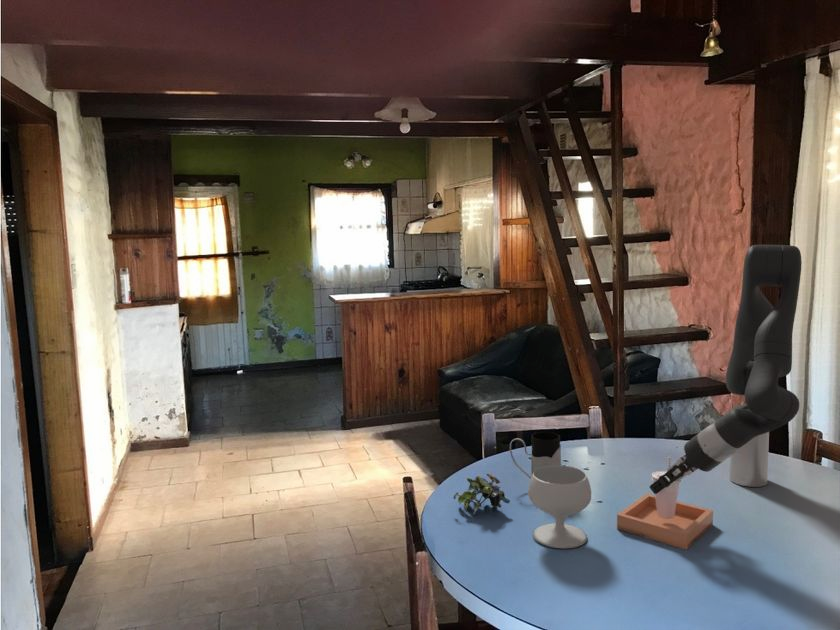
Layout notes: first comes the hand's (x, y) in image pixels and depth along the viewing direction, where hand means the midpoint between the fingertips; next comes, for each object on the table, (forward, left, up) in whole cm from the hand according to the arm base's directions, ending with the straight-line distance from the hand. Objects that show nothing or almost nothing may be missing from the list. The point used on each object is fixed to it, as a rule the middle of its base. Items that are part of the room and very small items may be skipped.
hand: (659, 485), depth 151 cm
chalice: (+20, -14, -10) cm, 27 cm away
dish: (0, +2, -10) cm, 10 cm away
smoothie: (0, +2, -7) cm, 7 cm away
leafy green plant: (+20, -37, -10) cm, 43 cm away
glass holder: (-1, -34, -10) cm, 36 cm away
